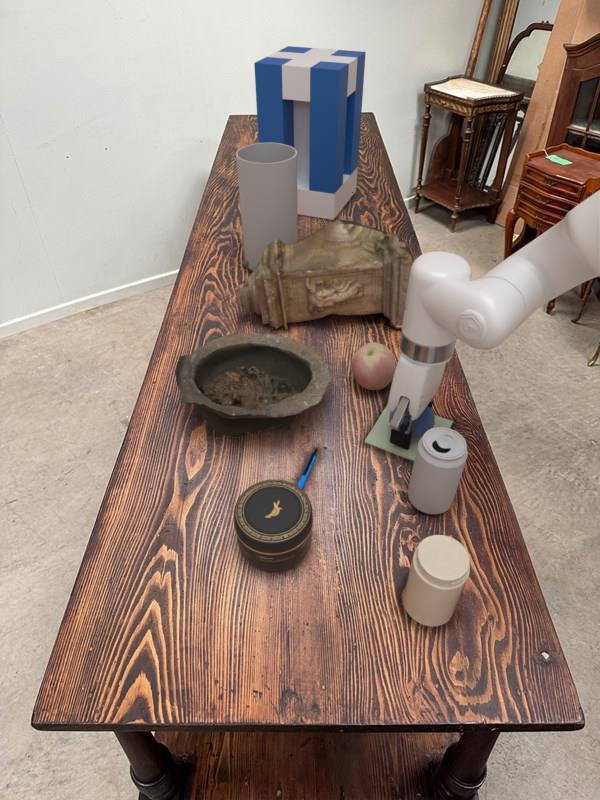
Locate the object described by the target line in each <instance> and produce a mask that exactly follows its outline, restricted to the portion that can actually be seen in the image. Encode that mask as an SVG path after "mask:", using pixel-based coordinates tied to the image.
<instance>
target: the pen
mask: <svg viewBox="0 0 600 800" xmlns="http://www.w3.org/2000/svg"><path fill="white" fill-rule="evenodd" d="M318 450H319V448H317V447H316V448H315V449H314V451H313V452H312V453H310V456H309V459H308V461H307V463H306V465H305V467H304V469H303V472H302V474H301V476H300V478H299V481H298V483H297V485H296V486H298V487H299V488H301V489H302V490H303V488H304V486H305V484H306V481H307V479H308V477H309V475H310V472H311V470H312V468H313V465H314V463H315V461H316V458H317V452H318Z"/></svg>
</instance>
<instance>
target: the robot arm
mask: <svg viewBox="0 0 600 800" xmlns="http://www.w3.org/2000/svg"><path fill="white" fill-rule="evenodd" d="M472 273H473V272H472V268H471V265H470V263H469V262H468V260H466V259H465V258H464V257H462V256H461V255H458V254H456V253H453V252H449V251H444V250H443V251H442V250H433V251H428V252H425V253H423V254H420V255H419V256H418V257H416V258H415V261H414V262H413V264H412V267H411V271H410V276H409V283H408V289H407V296H406V303H405V309H404V316H403V323H402V328H401V329H400V337H399V343H398V351H399V353H400V355H399V357H398V361H397V362H396V369H395V373H394V376H393V379H392V381H391V385H390V390H389V395H388V399H387V404H386V406H387V408H388V410H389V411H391V412H393V411H394V410H395V409H396V408H397V409H396V411H395V414H394V416H393V418H392V420H391V422H390V425H389V427H391V428H392V430H391V436H390V443H392V444H394V445H396V446H399V447H401V448H403V449H405V450H408V449H409V448H410V443H411V438H412V433H413V431H412V430H411V428H412V425H413V422H414V420H415V419H417V418H418V417H419V416H420V415H421V414H422V412H423V411H424V409H425V408H426V407H427V405H428V406H429V407H430V408H431V409H432V410H433V406H434V399H435V397H436V394H437V393H438V391H439V389H440V387H441V384H442V381H443V379H444V375H445V370H446V364H447V363H449V362H450V361H451V360H452V358H453V355H454V352H455V348H456V343H457V339H458V340H459V341H461V342H462V343H464V344H465V345H466V346H469V347H471V348H474V349H476V350H482V351H486V350H492V349H494V348H497V347H499V346H500V345H502V344H503V343H504V342H505V341H506V340H508V339H509V337H511V336H512V335H513V334H514V333H515V332H516V331H517V330H518V329H519V328H520V327H521V325H523V324H524V323H525V322H526V321H527V320H528V319H529V318H530V317H531V316H532V315H533V314H534V313H535V312H537V310H539V309H540V308H542V307H543V306H545V305H546V304H548V303H549V302H551V301H552V300H555V299H556V298H558V297H559V296H561V295H563V294H565V293H567V292H569V291H570V290H573V289H574V288H575V287H578V286H580V285H581V284H584V283H585V282H588V281H590V280H592V279H595V278H600V189H599V190H597V191H596V192H595V193H593V194H591V195H590V196H588V197H587V198H585V199H584V200H583V201H581V202H580V203H578V204H577V205H575V206H574V207H573V208H572V209H570V210H569V211H568V212H567V213H566V214H565V216H564V217H563V218H562V219H561V220H560V221H559V222H557V223H556V224H554V225H553V226H551V227H550V228H549V229H547V230H545V231H544V232H542V234H540V235H538V236H537V237H536V238H534V239H533V240H531V241H530V242H528V243H527V244H525V245H524V246H522V247H521V248H519V249H518V250H517V251H515V252H514V253H512V254H511V255H510V256H508V257H506V258H505V259H503V260H502V261H501V262H499V263H498V264H497V265H496V266H494V267H492V268H491V269H489V271H487V272H486V273H485V274H483V275H482V276H481V277H480V278H478V279H472V275H473V274H472ZM397 406H398V407H397ZM407 409H408V410H409V412H408V411H407ZM404 416H405V417H407V418H409V421H408V424H407V425H404V424H402V421H403V418H404Z"/></svg>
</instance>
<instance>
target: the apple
mask: <svg viewBox="0 0 600 800" xmlns="http://www.w3.org/2000/svg"><path fill="white" fill-rule="evenodd" d="M396 366H397V359H396V357H395V355H394V354H393V352H392V350H391V349H390V348H389V347H388V346H386V345H385V344H384V343H381V342H376V341H372V342H370V341H369V342H367V343H365V344H363V345H361V346H360V347H359V348H358V349H357V350H355V352H354V354H353V356H352V359H351V373H352V375H353V378H354V380H355V381H356V383H358V385H360V387H362V388H363V389H366V390H368V391H379V390H383V389H385V388H386V387H387V386H389V384H390V383H392V380H393V376H394V373H395V369H396Z"/></svg>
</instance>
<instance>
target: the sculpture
mask: <svg viewBox="0 0 600 800" xmlns="http://www.w3.org/2000/svg"><path fill="white" fill-rule="evenodd" d="M415 260H416V257H415V256H414V254H413V253H412V251H411V250H410V248H409V247H408V244H407V243H406V242H405V241H404V240H403V239H402V237H401V236H400V234H398V233H395V232H388V231H385V230H381V229H378V228H375V227H372V226H368V225H365V224H362V223H360V222H357V221H354V220H350V219H349V220H347V219H337V220H335V221H333V222H331V223H329V224H326V225H325V226H323V227H321V228H320V229H318V230H316V231H315V232H313V233H311V234H310V235H308V236H307V237H304V238H303V239H300V240H299V241H298V242H297V243H294V244H291V245H286V246H285V243H284V242H282V241H281V240H280V239H276V240H274V241H273V242H272V243H271V244H269V245H268V246H267V247H266V248H265V250H264V252H263V254H262V256H261V260H260V261H259V263H258V265H257V266H256V268H255V269H254V271H252V272H251V273H250V274H249V275H248V277H247V278H245V279H244V280H242V281H241V282H240V283H239V284H238V285H237V286H236V287H235V291H236V296H237V302H238V305H239V307H241V308H243V309H245V310H247V311H248V312H249V313H254V312H255V314H256V315H258V316H261V319H262V320H261V322H262V324H264V325H267V324H268V325H269V326H270V327H271V329H272V330H273V329H274V328H275V329H276V330H278V329H280V328H281V327H282V326H283V328H284V330H286V331H287V330H288V329H289V327H288V324H290V323H291V324H294V323H302V322H305V321H312V320H318V319H323V318H324V317H327V316H330V315H338V316H366V315H372V314H375V315H376V314H383V316H384V317H386V318H387V319H388V320H390V322H389V326H390V327H392V328H394V329H395V330H401V329H402V323H403V316H404V309H405V303H406V296H407V289H408V283H409V276H410V271H411V267H412V264H413V262H414V261H415ZM241 264H242V266H243V267H244V268H245V269H249V268H248V267H249V262H248V261H247V260H245V259H243V260H242V262H241Z"/></svg>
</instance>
